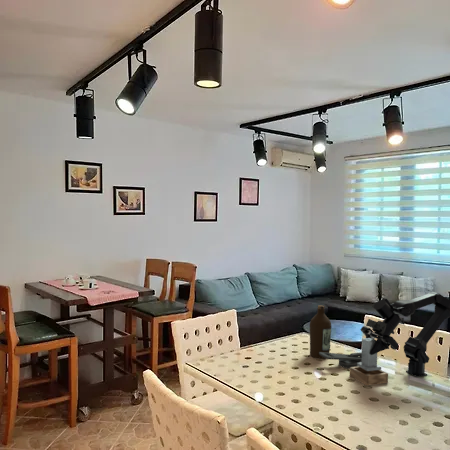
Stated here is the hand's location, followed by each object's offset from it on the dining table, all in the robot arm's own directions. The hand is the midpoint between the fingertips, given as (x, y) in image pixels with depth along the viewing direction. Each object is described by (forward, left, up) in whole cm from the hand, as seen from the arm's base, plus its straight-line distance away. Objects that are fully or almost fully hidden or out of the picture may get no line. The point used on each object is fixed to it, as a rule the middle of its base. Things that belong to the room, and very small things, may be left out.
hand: (366, 352), depth 180 cm
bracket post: (-1, 0, -7) cm, 7 cm away
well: (-1, 0, -12) cm, 12 cm away
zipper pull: (-2, -17, -12) cm, 21 cm away
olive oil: (+1, -32, -12) cm, 35 cm away
